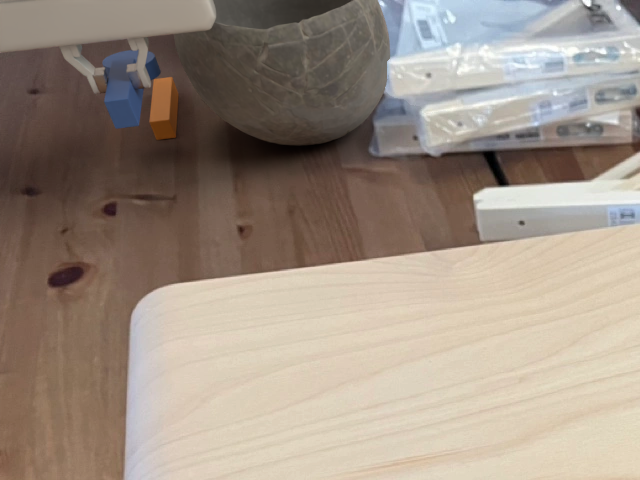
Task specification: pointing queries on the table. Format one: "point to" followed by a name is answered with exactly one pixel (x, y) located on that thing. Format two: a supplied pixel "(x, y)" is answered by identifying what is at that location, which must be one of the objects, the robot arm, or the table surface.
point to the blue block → (125, 87)
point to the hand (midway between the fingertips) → (123, 88)
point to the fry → (164, 108)
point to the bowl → (290, 66)
